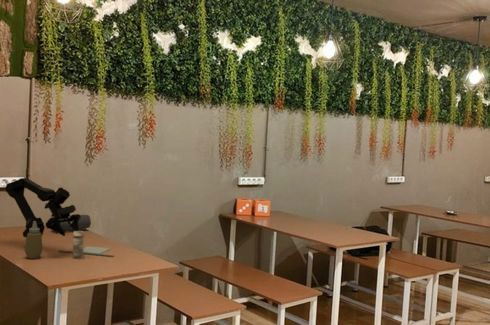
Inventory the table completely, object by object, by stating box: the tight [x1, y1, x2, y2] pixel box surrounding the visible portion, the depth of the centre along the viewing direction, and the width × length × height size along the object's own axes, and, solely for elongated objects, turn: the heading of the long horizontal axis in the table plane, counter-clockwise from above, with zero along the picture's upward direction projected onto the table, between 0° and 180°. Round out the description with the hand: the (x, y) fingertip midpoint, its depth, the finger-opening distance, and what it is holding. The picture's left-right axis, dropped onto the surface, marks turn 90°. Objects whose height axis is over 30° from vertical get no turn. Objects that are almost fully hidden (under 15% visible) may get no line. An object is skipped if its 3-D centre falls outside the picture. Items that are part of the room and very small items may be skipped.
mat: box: [83, 245, 111, 254], centre depth 277 cm, size 13×13×1 cm
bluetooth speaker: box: [52, 214, 92, 233], centre depth 325 cm, size 23×9×10 cm, turn 133°
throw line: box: [58, 250, 115, 258], centre depth 268 cm, size 30×2×1 cm, turn 80°
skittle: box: [72, 230, 85, 260], centre depth 260 cm, size 5×5×13 cm
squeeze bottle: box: [24, 221, 44, 260], centre depth 255 cm, size 8×8×18 cm
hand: (71, 234), depth 262 cm, fingers open, 9 cm apart
